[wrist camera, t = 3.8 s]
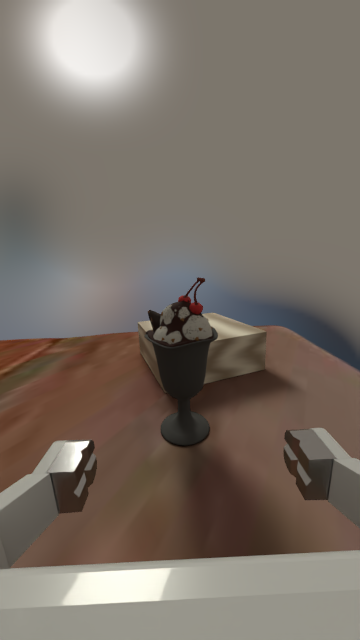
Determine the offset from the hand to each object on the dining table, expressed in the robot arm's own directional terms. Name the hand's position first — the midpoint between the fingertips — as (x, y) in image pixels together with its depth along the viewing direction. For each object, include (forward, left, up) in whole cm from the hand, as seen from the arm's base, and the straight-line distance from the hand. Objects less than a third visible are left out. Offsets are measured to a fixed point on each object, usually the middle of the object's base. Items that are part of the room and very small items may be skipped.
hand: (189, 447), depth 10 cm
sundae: (+4, +11, -9) cm, 15 cm away
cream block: (+12, +26, -9) cm, 30 cm away
